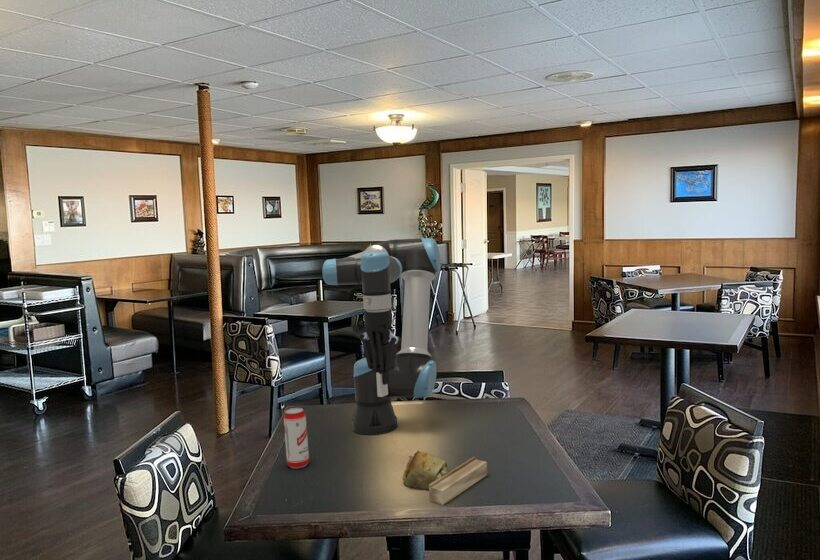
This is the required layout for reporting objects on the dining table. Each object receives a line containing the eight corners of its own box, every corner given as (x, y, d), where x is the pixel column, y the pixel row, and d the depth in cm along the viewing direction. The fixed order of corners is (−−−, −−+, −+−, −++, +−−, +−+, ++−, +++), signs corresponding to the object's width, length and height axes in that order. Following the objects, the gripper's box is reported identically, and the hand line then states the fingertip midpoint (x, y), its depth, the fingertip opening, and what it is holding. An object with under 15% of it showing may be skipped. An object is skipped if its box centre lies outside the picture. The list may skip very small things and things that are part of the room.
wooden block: (429, 500, 149) (428, 484, 149) (474, 471, 165) (473, 456, 165) (443, 505, 147) (442, 488, 147) (487, 474, 162) (486, 459, 162)
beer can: (313, 461, 178) (309, 407, 176) (302, 470, 172) (298, 414, 170) (294, 460, 180) (290, 406, 178) (283, 468, 174) (278, 413, 172)
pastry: (395, 476, 165) (393, 447, 164) (437, 467, 169) (436, 439, 169) (414, 498, 152) (413, 466, 151) (460, 487, 156) (459, 457, 156)
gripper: (350, 310, 167) (356, 395, 170) (387, 313, 159) (392, 402, 162) (369, 306, 173) (374, 388, 176) (405, 309, 165) (410, 395, 168)
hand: (382, 395), depth 169 cm, fingers closed
